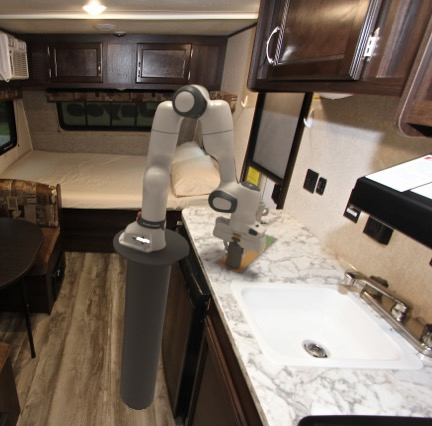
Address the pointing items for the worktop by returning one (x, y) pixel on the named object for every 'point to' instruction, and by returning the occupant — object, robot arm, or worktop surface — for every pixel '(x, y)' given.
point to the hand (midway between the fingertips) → (234, 253)
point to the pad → (269, 240)
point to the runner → (244, 262)
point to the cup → (261, 211)
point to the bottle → (234, 252)
